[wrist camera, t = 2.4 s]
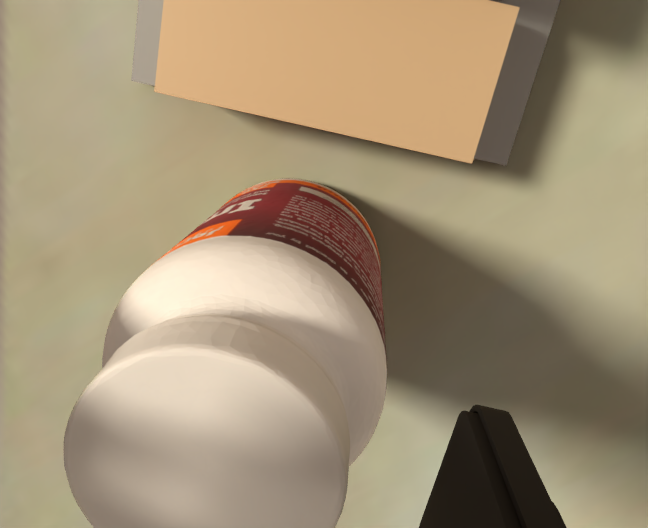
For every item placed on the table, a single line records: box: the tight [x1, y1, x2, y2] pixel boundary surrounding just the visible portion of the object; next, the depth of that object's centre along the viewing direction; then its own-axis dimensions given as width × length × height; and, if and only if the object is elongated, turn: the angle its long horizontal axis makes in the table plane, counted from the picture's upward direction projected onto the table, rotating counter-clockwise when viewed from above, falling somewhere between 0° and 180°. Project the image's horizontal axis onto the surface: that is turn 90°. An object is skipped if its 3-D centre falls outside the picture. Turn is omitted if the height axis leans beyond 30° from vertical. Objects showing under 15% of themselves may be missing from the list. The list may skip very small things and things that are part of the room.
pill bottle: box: [64, 178, 387, 528], centre depth 14 cm, size 6×6×11 cm
